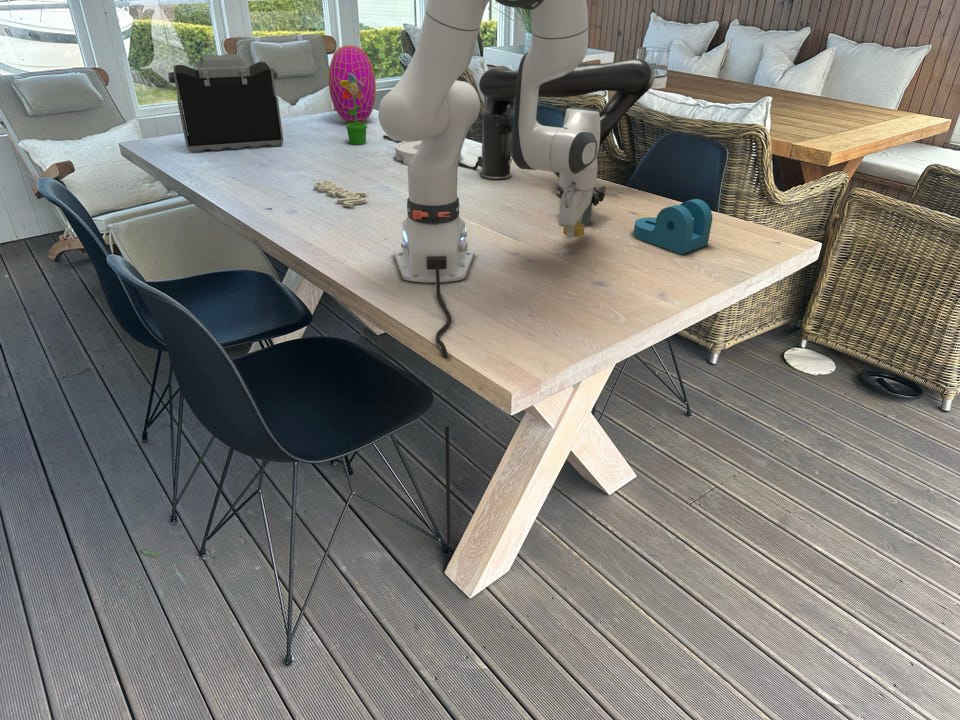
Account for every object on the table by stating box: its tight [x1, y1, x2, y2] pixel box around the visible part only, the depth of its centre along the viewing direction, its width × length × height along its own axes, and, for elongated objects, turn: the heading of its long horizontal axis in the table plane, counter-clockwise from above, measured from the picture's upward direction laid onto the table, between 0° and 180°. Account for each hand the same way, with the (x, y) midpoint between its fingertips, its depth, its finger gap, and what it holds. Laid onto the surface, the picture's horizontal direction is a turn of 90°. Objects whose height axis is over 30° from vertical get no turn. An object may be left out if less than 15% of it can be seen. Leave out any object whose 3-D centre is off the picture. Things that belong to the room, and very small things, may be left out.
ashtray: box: [394, 140, 462, 166], centre depth 243 cm, size 23×23×4 cm
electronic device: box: [167, 53, 284, 153], centre depth 252 cm, size 37×22×30 cm, turn 111°
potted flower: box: [339, 73, 368, 145], centre depth 255 cm, size 9×8×25 cm
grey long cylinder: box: [581, 188, 594, 227], centre depth 181 cm, size 4×4×19 cm
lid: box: [562, 222, 585, 238], centre depth 170 cm, size 5×5×2 cm
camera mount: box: [632, 198, 713, 255], centre depth 173 cm, size 18×10×10 cm, turn 39°
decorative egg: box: [328, 44, 377, 124], centre depth 286 cm, size 19×19×30 cm
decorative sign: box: [313, 179, 366, 209], centre depth 205 cm, size 26×1×10 cm
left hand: (573, 233), depth 170 cm, fingers closed on lid, 5 cm apart
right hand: (586, 202), depth 180 cm, fingers closed on grey long cylinder, 4 cm apart
